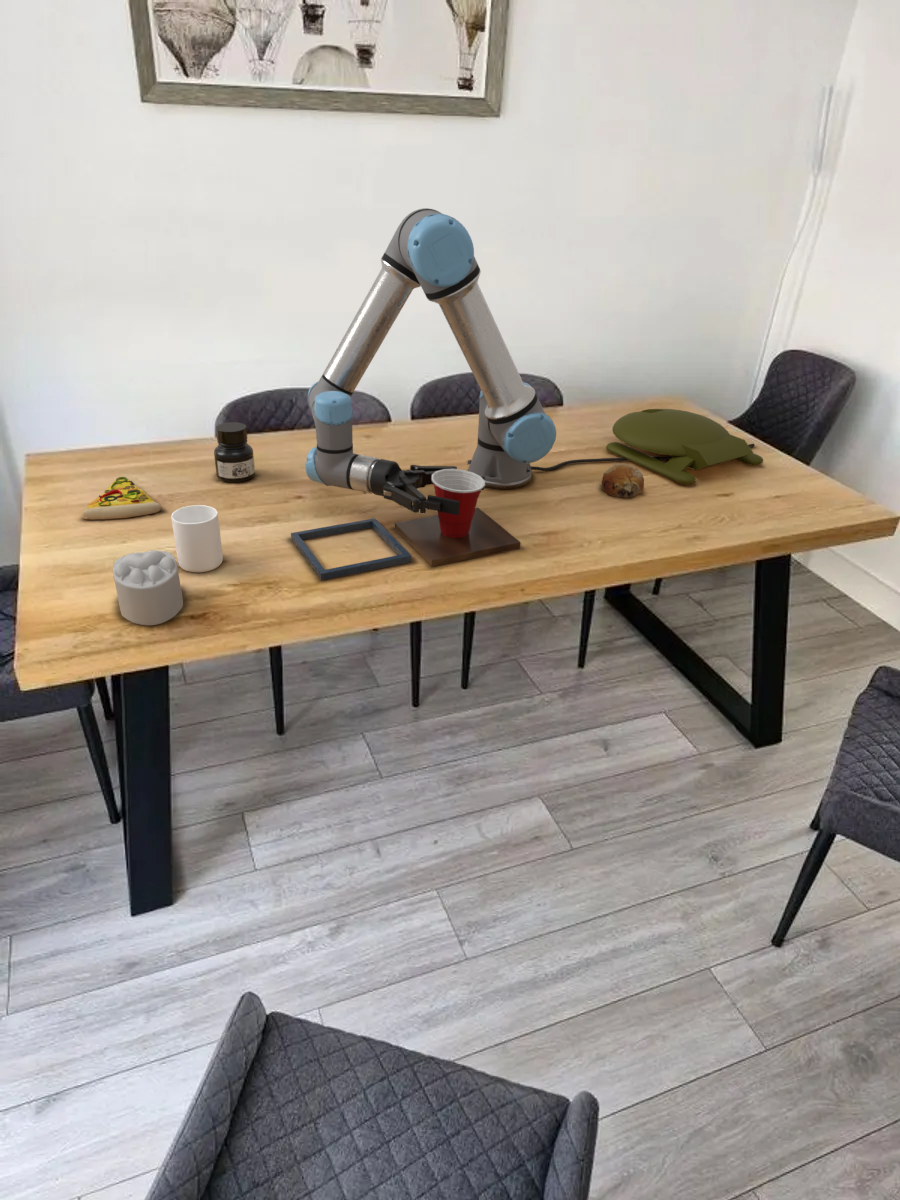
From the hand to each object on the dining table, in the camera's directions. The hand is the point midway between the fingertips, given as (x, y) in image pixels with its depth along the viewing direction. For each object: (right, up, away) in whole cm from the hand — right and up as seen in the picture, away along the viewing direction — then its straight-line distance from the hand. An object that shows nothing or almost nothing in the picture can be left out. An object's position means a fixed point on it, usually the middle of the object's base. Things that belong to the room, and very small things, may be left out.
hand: (471, 495), depth 163 cm
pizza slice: (-76, +1, +17) cm, 78 cm away
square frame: (-24, -11, 0) cm, 27 cm away
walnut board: (-3, -8, +6) cm, 11 cm away
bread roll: (+36, +5, +31) cm, 48 cm away
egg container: (-56, -22, -20) cm, 64 cm away
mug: (-53, -13, -5) cm, 55 cm away
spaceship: (+55, +17, +53) cm, 78 cm away
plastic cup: (-3, -7, +5) cm, 9 cm away
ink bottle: (-55, +8, +30) cm, 63 cm away
